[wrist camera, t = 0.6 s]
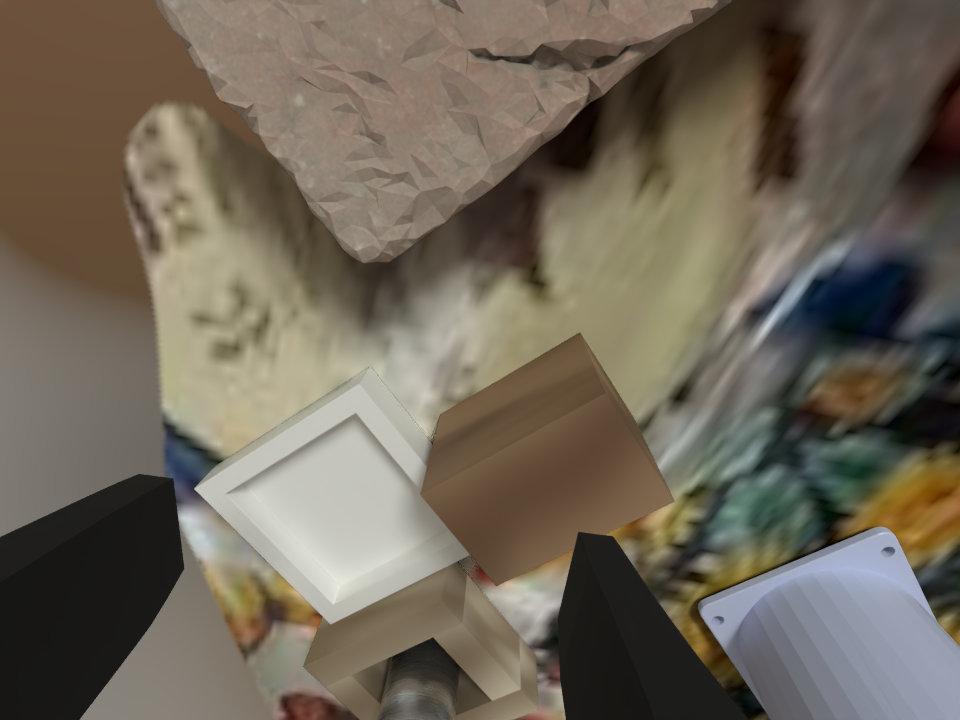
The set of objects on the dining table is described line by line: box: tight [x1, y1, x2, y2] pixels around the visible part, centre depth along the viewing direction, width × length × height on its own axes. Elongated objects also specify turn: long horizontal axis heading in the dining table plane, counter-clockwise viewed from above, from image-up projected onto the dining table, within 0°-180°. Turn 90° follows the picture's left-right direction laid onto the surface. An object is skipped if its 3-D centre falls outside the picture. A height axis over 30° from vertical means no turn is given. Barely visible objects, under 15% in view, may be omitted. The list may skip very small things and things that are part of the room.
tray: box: [194, 367, 470, 624], centre depth 20 cm, size 8×8×2 cm
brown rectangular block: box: [420, 333, 675, 586], centre depth 17 cm, size 4×6×5 cm, turn 124°
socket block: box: [303, 562, 539, 720], centre depth 22 cm, size 7×7×2 cm
